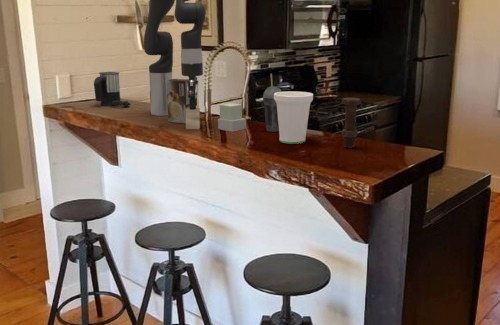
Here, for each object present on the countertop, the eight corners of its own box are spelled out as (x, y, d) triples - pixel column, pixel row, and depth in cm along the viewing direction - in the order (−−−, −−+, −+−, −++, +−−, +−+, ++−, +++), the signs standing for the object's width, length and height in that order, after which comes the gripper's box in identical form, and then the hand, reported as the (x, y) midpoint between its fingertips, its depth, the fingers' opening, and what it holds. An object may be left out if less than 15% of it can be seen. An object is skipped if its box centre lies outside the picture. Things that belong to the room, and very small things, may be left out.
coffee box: (196, 121, 204) (195, 79, 200) (187, 124, 199) (185, 81, 195) (176, 119, 208) (175, 78, 204) (167, 121, 203) (165, 79, 199)
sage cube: (219, 118, 189) (219, 104, 188) (230, 116, 193) (230, 103, 192) (231, 120, 186) (230, 106, 184) (241, 118, 190) (241, 104, 188)
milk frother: (105, 103, 249) (103, 71, 245) (138, 103, 247) (136, 71, 243) (92, 107, 235) (90, 74, 231) (126, 108, 233) (124, 74, 229)
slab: (218, 129, 190) (218, 118, 189) (231, 127, 195) (231, 116, 194) (232, 132, 186) (232, 121, 184) (245, 129, 191) (245, 118, 189)
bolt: (353, 150, 159) (355, 100, 155) (337, 148, 162) (339, 99, 158) (360, 146, 164) (362, 98, 160) (344, 144, 167) (347, 96, 163)
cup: (319, 141, 171) (321, 93, 167) (294, 147, 163) (295, 97, 159) (290, 135, 180) (291, 90, 176) (265, 141, 171) (265, 93, 167)
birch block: (186, 126, 194) (186, 107, 192) (200, 126, 194) (199, 107, 193) (186, 129, 190) (185, 109, 188) (199, 129, 190) (199, 109, 188)
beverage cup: (287, 130, 188) (288, 73, 183) (273, 133, 183) (274, 74, 178) (271, 127, 193) (272, 72, 188) (258, 130, 188) (258, 73, 182)
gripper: (182, 60, 193) (184, 105, 197) (179, 63, 179) (181, 111, 183) (203, 60, 193) (204, 104, 197) (201, 63, 179) (203, 110, 183)
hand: (193, 107), depth 190 cm, fingers open, 8 cm apart
